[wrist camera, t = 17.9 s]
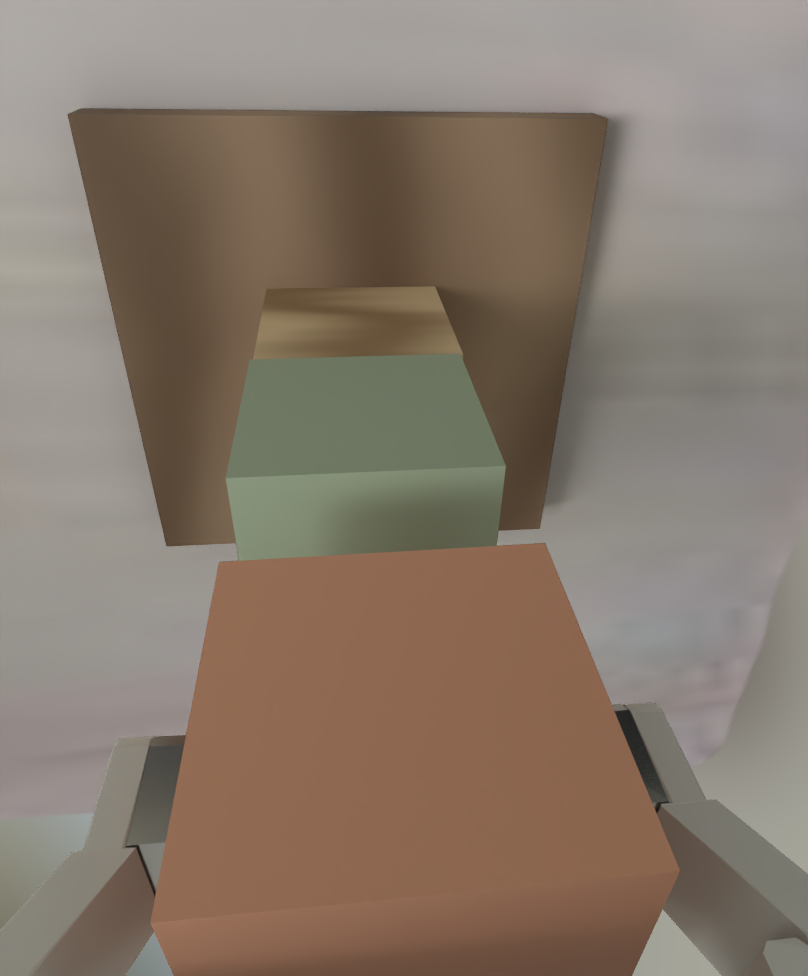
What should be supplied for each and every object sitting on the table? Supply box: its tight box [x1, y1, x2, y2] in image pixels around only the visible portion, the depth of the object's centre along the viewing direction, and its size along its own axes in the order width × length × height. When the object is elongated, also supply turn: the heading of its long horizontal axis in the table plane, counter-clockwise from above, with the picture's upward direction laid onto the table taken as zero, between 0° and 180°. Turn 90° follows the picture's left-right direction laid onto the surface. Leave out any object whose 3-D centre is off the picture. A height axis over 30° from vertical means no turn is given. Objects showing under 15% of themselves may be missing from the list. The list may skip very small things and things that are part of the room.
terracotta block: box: [150, 543, 680, 976], centre depth 10 cm, size 5×5×5 cm
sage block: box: [226, 354, 506, 561], centre depth 16 cm, size 5×5×5 cm
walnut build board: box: [68, 109, 608, 546], centre depth 20 cm, size 14×14×6 cm
